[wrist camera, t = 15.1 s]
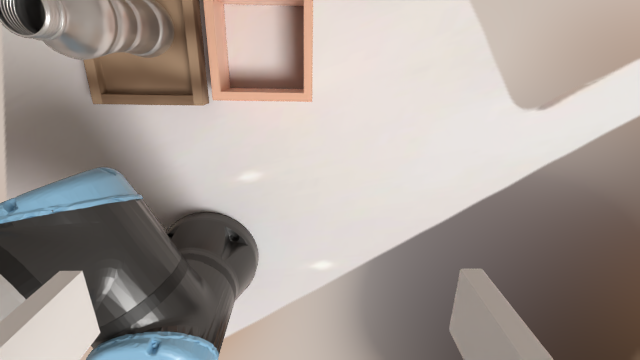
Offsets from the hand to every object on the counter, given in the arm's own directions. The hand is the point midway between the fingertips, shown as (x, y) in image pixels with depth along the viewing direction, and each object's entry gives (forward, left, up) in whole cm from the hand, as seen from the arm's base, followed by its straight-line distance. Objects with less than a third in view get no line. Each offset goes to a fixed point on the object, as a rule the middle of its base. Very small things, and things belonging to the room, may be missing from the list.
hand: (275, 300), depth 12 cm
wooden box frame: (+9, +5, -37) cm, 38 cm away
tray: (+11, +20, -37) cm, 43 cm away
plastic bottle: (+11, +18, -36) cm, 42 cm away
